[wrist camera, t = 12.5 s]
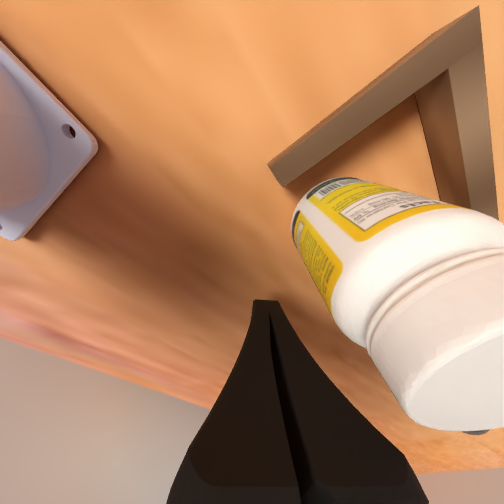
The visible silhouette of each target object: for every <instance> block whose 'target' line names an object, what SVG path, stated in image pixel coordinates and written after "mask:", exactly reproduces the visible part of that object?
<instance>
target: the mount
mask: <svg viewBox="0 0 504 504" xmlns="http://www.w3.org/2000/svg"><path fill="white" fill-rule="evenodd" d="M413 93H415V95H416V99H417V104H418V108H419V112H420V116H421V120H422V125H423V129H424V133H425V137H426V141H427V146H428V150H429V154H430V158H431V162H432V166H433V171H434V175H435V179H436V183H437V187H438V192H439V196H440V200H441V201H442V202H446V203H449V204H453V205H456V206H460V207H464V208H468V209H471V210H475V211H478V212H480V213H483V214H485V215H488V216H491V217H493V218H495V219H497V220H498V221H499V218H498V207H497V196H496V185H495V174H494V163H493V153H492V142H491V131H490V120H489V109H488V98H487V87H486V77H485V66H484V55H483V44H482V33H481V22H480V11H479V6H477V7H475V8H474V9H472V10H471V11H469V12H467V13H466V14H464V15H462V16H461V17H459V18H457V19H456V20H454V21H453V22H451V23H449V24H448V25H446V26H444V27H443V28H441V29H440V30H438V31H436V32H435V33H433V34H432V35H431V36H429V37H428V38H427V39H425V40H424V41H423V42H422V43H420V44H419V45H418V46H417V47H415V48H414V49H413V50H411V51H410V52H409V53H408V54H406V55H405V56H404V57H403V58H401V59H400V60H399V61H398V62H396V63H395V64H394V65H392V66H391V67H390V68H389V69H387V70H386V71H385V72H384V73H382V74H381V75H380V76H378V77H377V78H376V79H375V80H373V81H372V82H371V83H370V84H368V85H367V86H366V87H364V88H363V89H362V90H361V91H359V92H358V93H357V94H356V95H354V96H353V97H352V98H350V99H349V100H348V101H347V102H345V103H344V104H343V105H342V106H340V107H339V108H338V109H336V110H335V111H334V112H333V113H331V114H330V115H329V116H328V117H326V118H325V119H324V120H322V121H321V122H320V123H319V124H317V125H316V126H315V127H314V128H312V129H311V130H310V131H308V132H307V133H306V134H305V135H303V136H302V137H301V138H300V139H298V140H297V141H296V142H294V143H293V144H292V145H291V146H289V147H288V148H287V149H286V150H284V151H283V152H282V153H280V154H279V155H278V156H277V157H275V158H274V159H273V160H272V161H270V162H269V163H268V164H267V165H268V166H269V168H270V169H271V171H272V173H273V174H274V176H275V177H276V179H277V181H278V182H279V183H280V184H281V186H282V187H285V186H286V185H287V184H289V183H290V182H292V181H293V180H294V179H296V178H297V177H299V176H300V175H301V174H303V173H304V172H305V171H307V170H308V169H310V168H311V167H312V166H314V165H315V164H316V163H318V162H319V161H321V160H322V159H323V158H325V157H326V156H328V155H329V154H330V153H332V152H333V151H334V150H336V149H337V148H339V147H340V146H341V145H343V144H344V143H346V142H347V141H348V140H350V139H351V138H352V137H354V136H355V135H357V134H358V133H359V132H361V131H362V130H363V129H365V128H366V127H368V126H369V125H370V124H372V123H373V122H375V121H376V120H377V119H379V118H380V117H381V116H383V115H384V114H386V113H387V112H388V111H390V110H391V109H392V108H394V107H395V106H397V105H398V104H399V103H401V102H402V101H404V100H405V99H406V98H408V97H409V96H410V95H412V94H413Z"/></svg>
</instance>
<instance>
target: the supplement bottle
mask: <svg viewBox="0 0 504 504" xmlns="http://www.w3.org/2000/svg"><path fill="white" fill-rule="evenodd" d="M291 235H292V239H293V241H294V244H295V246H296V248H297V250H298V252H299V254H300V256H301V257H302V259H303V261H304V263H305V265H306V267H307V269H308V271H309V273H310V275H311V277H312V279H313V280H314V282H315V284H316V286H317V288H318V290H319V292H320V294H321V296H322V298H323V300H324V302H325V304H326V306H327V308H328V310H329V312H330V314H331V315H332V317H333V319H334V321H335V323H336V324H337V326H338V327H339V328H340V329H341V331H342V332H343V333H344V334H345V335H346V336H347V337H348V338H349V339H350V340H352V341H353V342H355V343H356V344H358V345H360V346H362V347H364V348H366V349H367V352H368V354H369V355H370V357H371V358H372V360H373V363H374V364H375V366H376V367H377V369H378V370H379V372H380V374H381V375H382V377H383V379H384V380H385V382H386V384H387V385H388V387H389V388H390V390H391V392H392V393H393V395H394V396H395V398H396V400H397V401H398V403H399V404H400V406H401V407H402V409H403V411H404V412H405V413H406V414H407V415H408V416H409V417H410V418H411V419H412V420H413V421H415V422H416V423H418V424H420V425H423V426H425V427H429V428H433V429H438V430H444V431H478V430H488V429H495V428H501V427H504V224H503V223H502V222H500V221H498V220H497V219H495V218H493V217H491V216H488V215H485V214H483V213H480V212H478V211H475V210H471V209H468V208H464V207H460V206H456V205H453V204H449V203H446V202H442V201H438V200H434V199H430V198H427V197H423V196H419V195H416V194H412V193H408V192H405V191H401V190H398V189H394V188H390V187H386V186H383V185H379V184H376V183H372V182H368V181H364V180H360V179H357V178H352V177H336V178H332V179H328V180H326V181H323V182H321V183H319V184H317V185H316V186H314V187H313V188H312V189H310V190H309V191H308V192H307V193H306V194H305V195H304V196H303V197H302V199H301V200H300V201H299V203H298V205H297V206H296V208H295V211H294V213H293V216H292V220H291Z"/></svg>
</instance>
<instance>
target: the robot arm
mask: <svg viewBox="0 0 504 504" xmlns="http://www.w3.org/2000/svg"><path fill="white" fill-rule="evenodd" d="M70 126H72V127H73V129H74V130H75V134H76V135H75V137H73V136H72V135H71V133H70V130H69V128H70ZM97 151H98V143H97V141H96V139H95V137H94V136H93V135H92V134H91V133H90V132H89V131H88V130H87V129H86V128H85V127H84V126H83V125H82V124H81V123H80V121H79V120H78V119H77V118H76V117H75V116H74V115H73V114H72V113H71V112H70V111H69V110H68V109H67V108H66V107H65V106H64V105H63V104H62V103H61V102H60V101H59V100H58V99H57V98H56V97H55V96H54V95H53V94H52V93H51V92H50V91H49V90H48V89H47V88H46V87H45V86H44V85H43V84H42V83H41V82H40V81H39V80H38V79H37V78H36V77H35V76H34V75H33V73H32V72H31V71H30V70H29V69H28V68H27V67H26V66H25V65H24V64H23V63H22V62H21V61H20V60H19V59H18V58H17V57H16V56H15V55H14V54H13V53H12V52H11V51H10V50H9V49H8V48H7V47H6V46H5V45H4V44H3V43H2V42H1V41H0V236H2V237H3V238H5V239H8V240H11V241H16V240H18V239H21V238H23V237H24V236H25V235H26V234H27V233H28V231H29V230H30V229H31V228H32V227H33V226H34V224H35V223H36V222H37V221H38V220H39V219H40V218H41V216H42V215H43V214H44V213H45V212H46V211H47V209H48V208H49V207H50V206H51V205H52V204H53V203H54V201H55V200H56V199H57V198H58V197H59V196H60V194H61V193H62V192H63V191H64V190H65V189H66V188H67V186H68V185H69V184H70V183H71V182H72V181H73V179H74V178H75V177H76V176H77V175H78V174H79V173H80V171H81V170H82V169H83V168H84V167H85V166H86V164H87V163H88V162H89V161H90V160H91V159H92V158H93V156H94V155H95V154H96V153H97ZM167 504H429V501H428V499H427V497H426V495H425V493H424V491H423V489H422V487H421V485H420V483H419V481H418V479H417V477H416V475H415V473H414V471H413V470H412V468H411V466H410V465H409V463H408V461H407V459H406V458H405V456H404V454H403V453H402V452H400V451H399V450H398V449H397V448H396V447H395V446H394V445H393V444H392V443H391V442H390V441H389V440H388V439H387V438H385V437H384V436H383V435H382V434H381V433H380V432H379V431H378V430H377V429H376V428H375V427H374V426H373V425H372V424H371V423H370V422H369V421H368V420H367V419H366V418H365V417H364V416H363V415H362V414H361V413H360V412H359V411H358V410H357V409H356V408H355V407H354V406H353V405H352V404H351V403H350V401H349V400H348V399H347V398H346V397H345V396H344V395H343V394H342V393H341V392H340V390H339V389H338V388H337V387H336V386H335V385H334V384H333V383H332V381H331V380H330V379H329V378H328V377H327V375H326V374H325V373H324V372H323V371H322V369H321V368H320V367H319V365H318V364H317V363H316V362H315V360H314V359H313V358H312V356H311V355H310V353H309V352H308V351H307V349H306V348H305V346H304V345H303V343H302V342H301V340H300V339H299V337H298V336H297V334H296V332H295V331H294V329H293V328H292V326H291V324H290V323H289V321H288V319H287V317H286V315H285V313H284V312H283V310H282V308H281V306H280V303H279V302H278V301H272V300H254V301H253V308H252V316H251V322H250V326H249V329H248V332H247V335H246V338H245V341H244V343H243V346H242V349H241V351H240V354H239V356H238V358H237V361H236V363H235V365H234V367H233V369H232V372H231V374H230V376H229V378H228V380H227V382H226V384H225V386H224V388H223V390H222V391H221V393H220V395H219V397H218V399H217V401H216V402H215V404H214V406H213V408H212V410H211V411H210V413H209V415H208V417H207V418H206V420H205V422H204V423H203V425H202V426H201V428H200V430H199V431H198V433H197V435H196V436H195V438H194V440H193V441H192V443H191V445H190V446H189V448H188V450H187V453H186V455H185V457H184V459H183V461H182V464H181V466H180V468H179V470H178V472H177V475H176V477H175V479H174V482H173V485H172V487H171V490H170V493H169V496H168V499H167Z"/></svg>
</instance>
